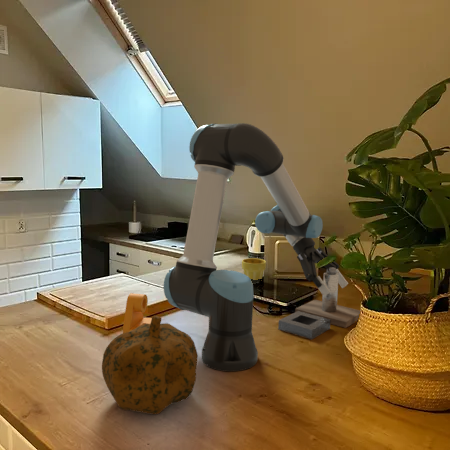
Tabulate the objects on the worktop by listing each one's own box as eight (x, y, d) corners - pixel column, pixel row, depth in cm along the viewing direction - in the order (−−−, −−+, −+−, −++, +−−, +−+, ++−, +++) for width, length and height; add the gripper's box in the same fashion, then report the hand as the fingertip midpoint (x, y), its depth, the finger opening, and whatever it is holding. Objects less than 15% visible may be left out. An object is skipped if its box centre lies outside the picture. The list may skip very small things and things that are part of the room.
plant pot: (256, 287, 190) (257, 264, 188) (236, 282, 196) (237, 260, 194) (269, 282, 198) (270, 260, 196) (250, 278, 204) (250, 257, 202)
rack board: (345, 328, 146) (346, 322, 146) (295, 314, 158) (295, 308, 158) (363, 317, 157) (363, 311, 157) (314, 304, 169) (314, 299, 169)
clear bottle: (332, 313, 154) (334, 270, 151) (319, 310, 157) (321, 268, 154) (338, 309, 157) (341, 268, 155) (326, 306, 161) (328, 265, 158)
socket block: (311, 339, 136) (312, 330, 136) (278, 329, 144) (278, 320, 143) (330, 328, 145) (330, 319, 145) (297, 319, 153) (298, 311, 152)
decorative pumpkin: (107, 374, 110) (113, 296, 106) (193, 380, 112) (201, 304, 108) (88, 426, 90) (94, 333, 87) (193, 432, 92) (203, 341, 88)
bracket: (145, 340, 133) (145, 301, 132) (123, 337, 135) (122, 298, 133) (158, 326, 144) (158, 290, 142) (137, 324, 145) (136, 288, 143)
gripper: (311, 242, 173) (345, 288, 166) (274, 252, 154) (311, 304, 147) (324, 230, 169) (359, 277, 162) (288, 239, 150) (327, 291, 143)
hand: (336, 290), depth 155 cm, fingers open, 13 cm apart
